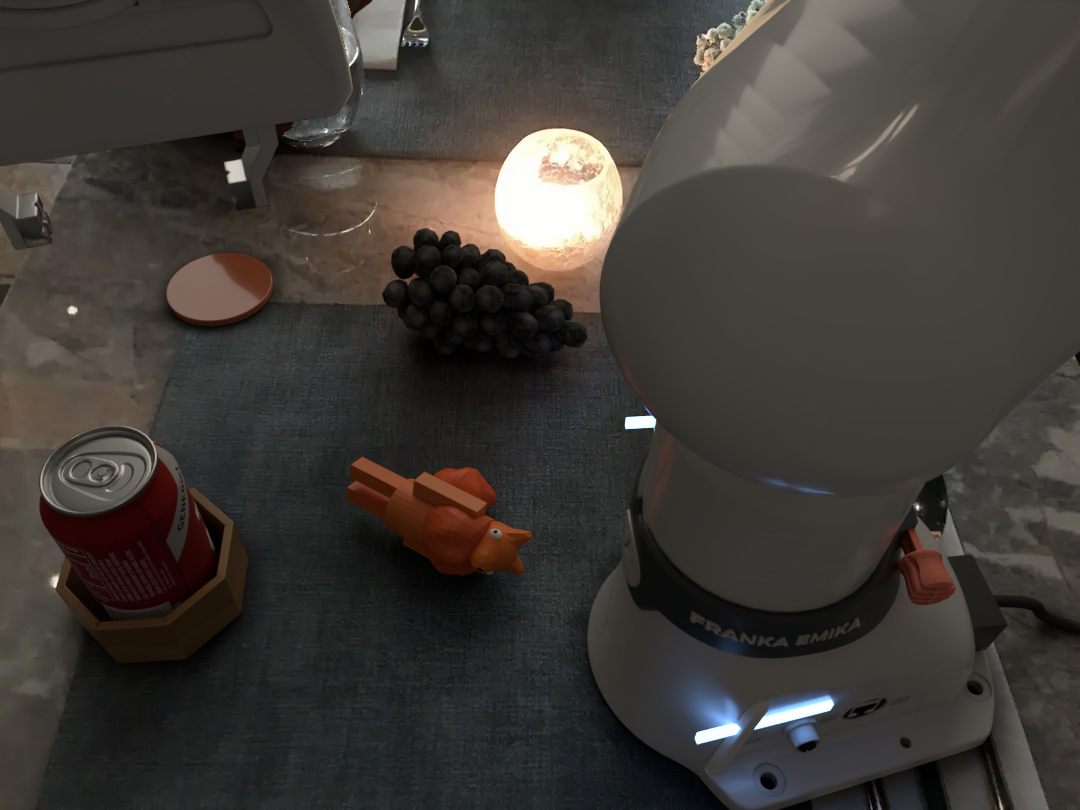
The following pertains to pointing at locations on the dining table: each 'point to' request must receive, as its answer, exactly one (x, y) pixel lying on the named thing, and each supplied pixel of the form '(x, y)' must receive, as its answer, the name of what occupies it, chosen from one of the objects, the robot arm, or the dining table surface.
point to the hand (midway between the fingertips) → (145, 220)
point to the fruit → (477, 300)
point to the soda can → (126, 522)
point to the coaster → (219, 289)
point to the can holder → (187, 621)
